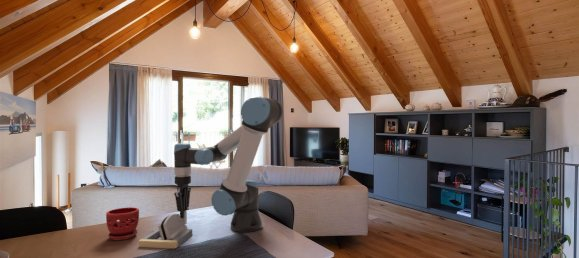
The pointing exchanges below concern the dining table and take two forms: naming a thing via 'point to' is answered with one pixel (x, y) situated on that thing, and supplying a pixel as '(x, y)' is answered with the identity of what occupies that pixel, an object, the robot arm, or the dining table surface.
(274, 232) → the dining table surface
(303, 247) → the dining table surface
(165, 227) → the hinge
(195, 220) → the dining table surface
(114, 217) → the plant pot
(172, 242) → the bracket
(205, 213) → the dining table surface
